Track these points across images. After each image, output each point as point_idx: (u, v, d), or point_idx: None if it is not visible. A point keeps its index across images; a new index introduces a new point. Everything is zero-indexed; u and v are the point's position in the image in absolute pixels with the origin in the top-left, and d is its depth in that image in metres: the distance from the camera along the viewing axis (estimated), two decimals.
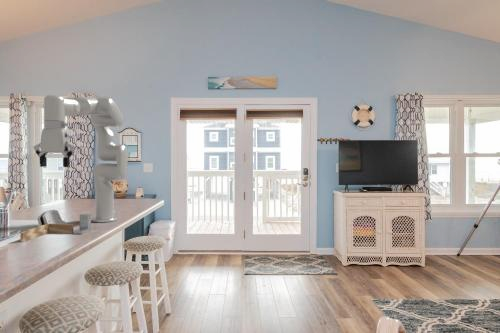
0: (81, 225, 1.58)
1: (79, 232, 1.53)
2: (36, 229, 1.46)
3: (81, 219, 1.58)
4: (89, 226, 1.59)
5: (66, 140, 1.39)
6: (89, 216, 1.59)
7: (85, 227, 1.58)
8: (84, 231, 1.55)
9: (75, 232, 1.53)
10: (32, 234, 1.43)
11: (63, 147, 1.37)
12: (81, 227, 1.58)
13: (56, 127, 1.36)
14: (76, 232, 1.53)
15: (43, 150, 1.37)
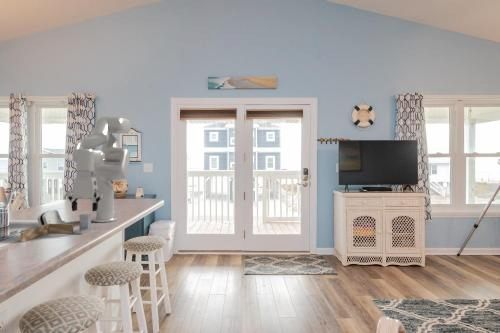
0: (81, 225, 1.58)
1: (79, 232, 1.53)
2: (36, 229, 1.46)
3: (81, 219, 1.58)
4: (89, 226, 1.59)
5: (95, 187, 1.58)
6: (89, 216, 1.59)
7: (85, 227, 1.58)
8: (84, 231, 1.55)
9: (75, 232, 1.53)
10: (32, 234, 1.43)
11: (93, 194, 1.56)
12: (81, 227, 1.58)
13: (87, 176, 1.56)
14: (76, 232, 1.53)
15: (75, 196, 1.56)
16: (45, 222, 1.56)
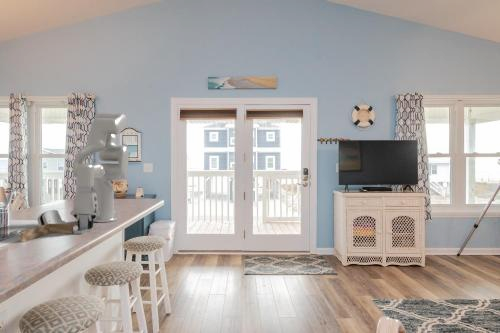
0: (81, 225, 1.58)
1: (79, 232, 1.53)
2: (36, 229, 1.46)
3: (81, 219, 1.58)
4: None
5: (95, 203, 1.59)
6: None
7: (85, 227, 1.58)
8: (84, 231, 1.55)
9: (75, 232, 1.53)
10: (32, 234, 1.43)
11: (93, 210, 1.57)
12: (81, 227, 1.58)
13: (87, 193, 1.56)
14: (76, 232, 1.53)
15: (75, 212, 1.57)
16: (45, 222, 1.56)
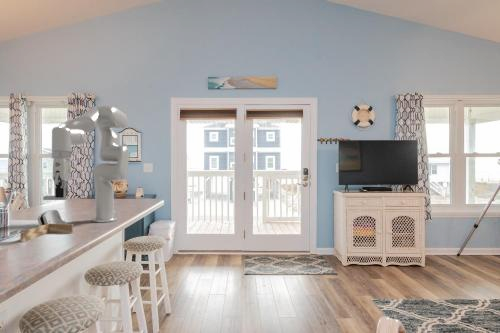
0: None
1: None
2: (36, 229, 1.46)
3: None
4: None
5: (57, 169, 1.42)
6: None
7: None
8: (48, 198, 1.44)
9: None
10: (32, 234, 1.43)
11: (53, 176, 1.42)
12: None
13: (52, 157, 1.44)
14: None
15: None
16: (45, 222, 1.56)
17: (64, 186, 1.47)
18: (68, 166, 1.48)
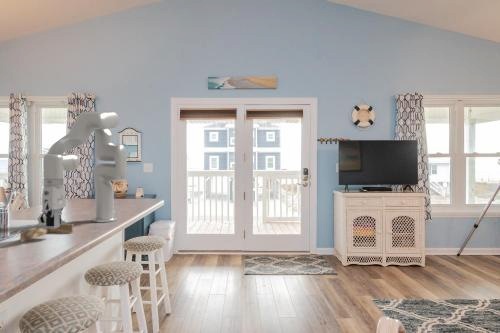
0: None
1: None
2: (36, 229, 1.46)
3: None
4: None
5: (46, 198, 1.39)
6: (50, 212, 1.42)
7: None
8: (40, 226, 1.43)
9: None
10: (32, 234, 1.43)
11: (42, 205, 1.39)
12: None
13: (43, 185, 1.42)
14: None
15: None
16: (45, 222, 1.57)
17: (55, 214, 1.44)
18: (60, 194, 1.44)
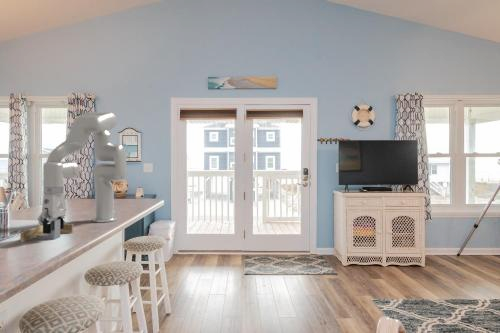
0: None
1: None
2: (36, 229, 1.46)
3: None
4: (51, 234, 1.43)
5: (46, 206, 1.39)
6: (51, 223, 1.43)
7: None
8: (40, 237, 1.43)
9: None
10: (32, 234, 1.43)
11: None
12: None
13: (43, 193, 1.42)
14: None
15: None
16: None
17: (56, 225, 1.44)
18: (59, 202, 1.44)
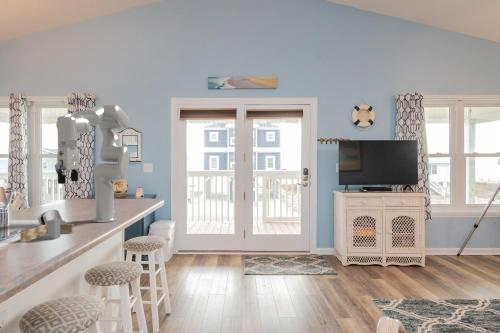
0: None
1: None
2: (36, 229, 1.46)
3: None
4: (51, 234, 1.43)
5: (61, 158, 1.44)
6: (51, 223, 1.43)
7: None
8: (40, 237, 1.43)
9: None
10: (32, 234, 1.43)
11: None
12: None
13: (58, 146, 1.47)
14: None
15: None
16: (46, 222, 1.57)
17: (56, 225, 1.44)
18: (73, 155, 1.49)
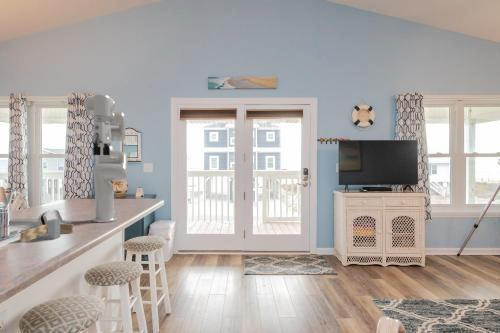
0: None
1: None
2: (36, 229, 1.46)
3: None
4: (51, 234, 1.43)
5: (97, 131, 1.59)
6: (51, 223, 1.43)
7: None
8: (40, 237, 1.43)
9: None
10: (32, 234, 1.43)
11: None
12: None
13: (93, 121, 1.61)
14: None
15: None
16: (46, 222, 1.57)
17: (56, 225, 1.44)
18: (107, 130, 1.64)
